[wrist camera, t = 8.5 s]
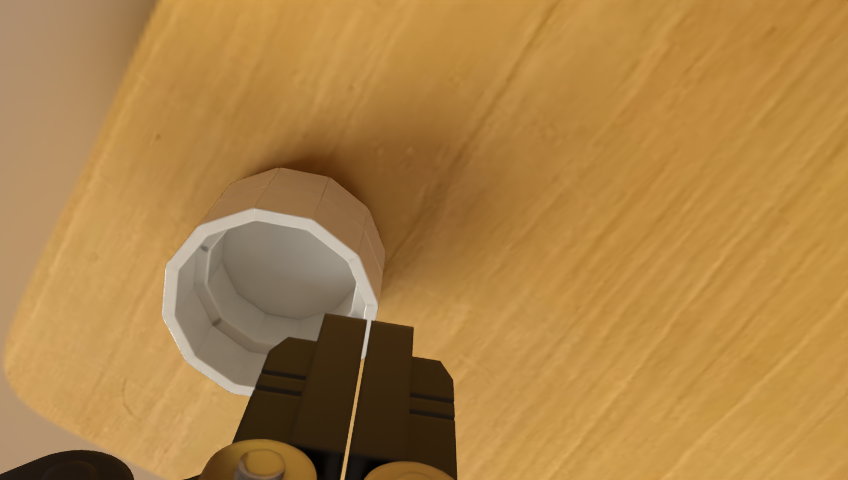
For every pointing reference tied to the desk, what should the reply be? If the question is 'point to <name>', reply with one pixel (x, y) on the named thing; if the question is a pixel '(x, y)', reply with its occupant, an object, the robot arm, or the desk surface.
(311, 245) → the bowl
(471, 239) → the desk surface
